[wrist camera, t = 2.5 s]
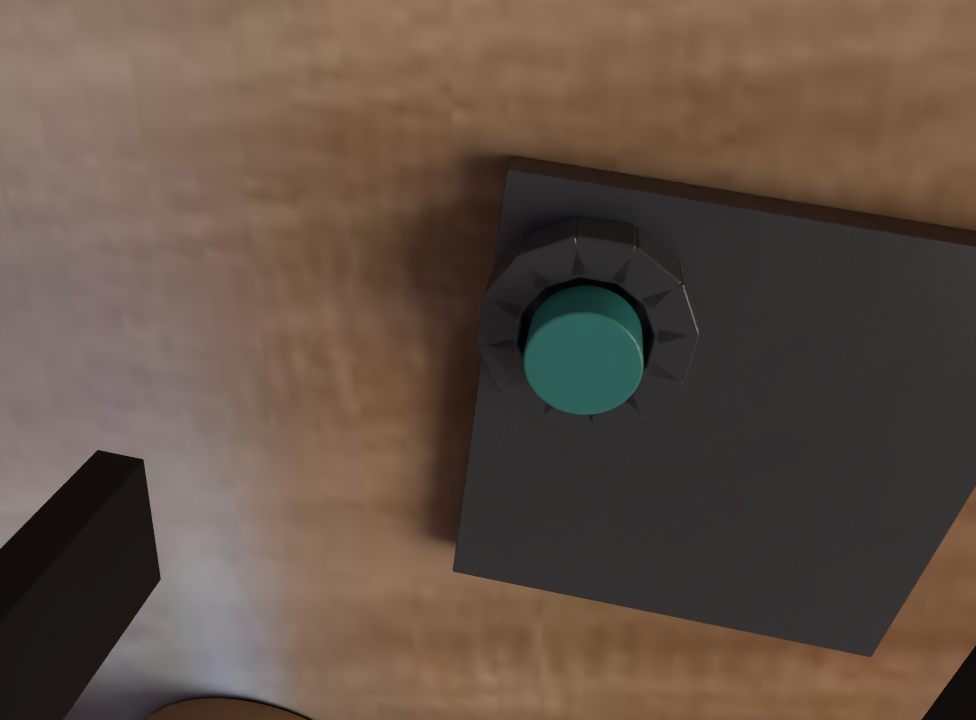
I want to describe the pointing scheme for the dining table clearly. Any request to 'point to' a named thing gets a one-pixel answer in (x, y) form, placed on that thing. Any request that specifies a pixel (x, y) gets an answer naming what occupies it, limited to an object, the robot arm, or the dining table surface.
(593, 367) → the button
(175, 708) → the vase
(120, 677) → the dining table surface
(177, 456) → the dining table surface
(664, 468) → the scale
